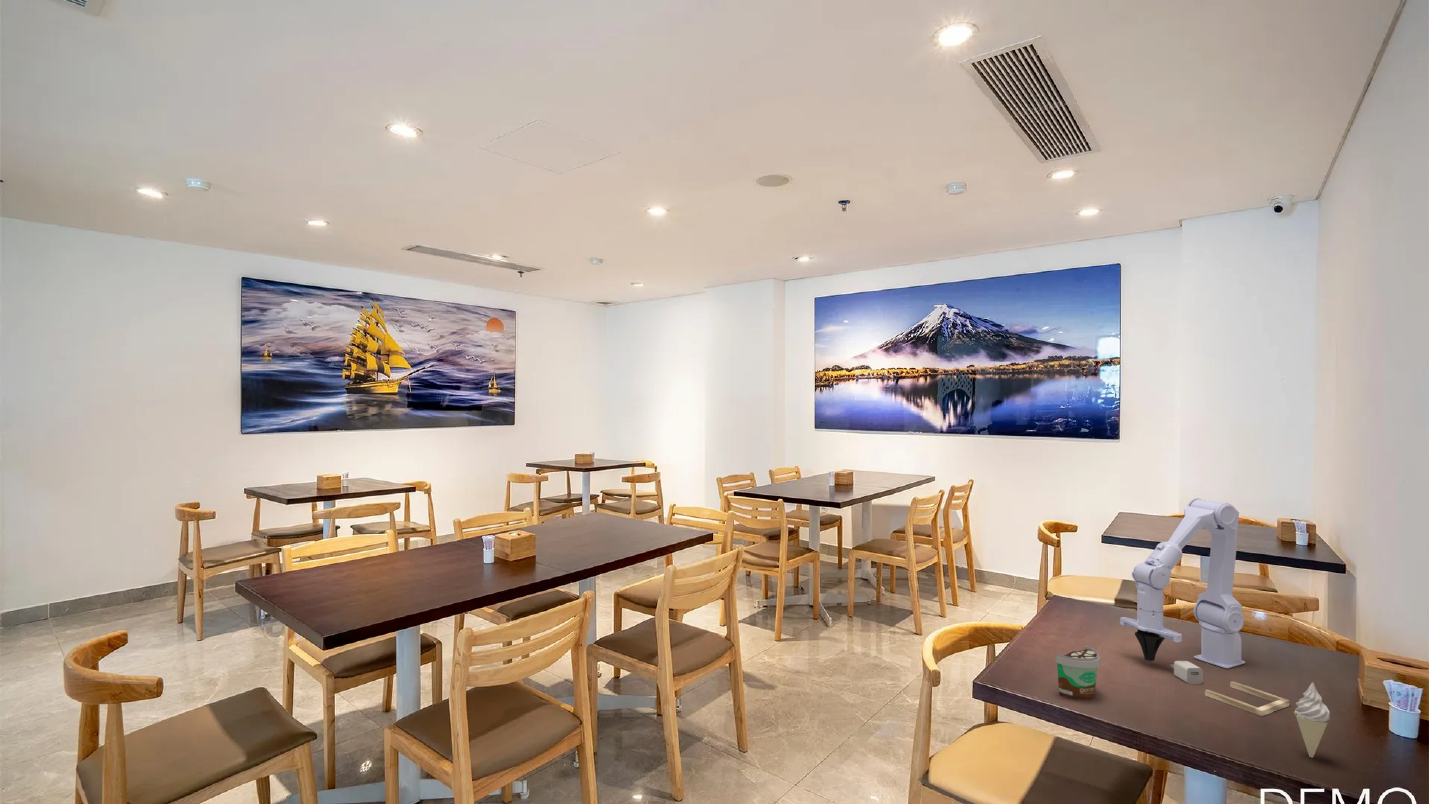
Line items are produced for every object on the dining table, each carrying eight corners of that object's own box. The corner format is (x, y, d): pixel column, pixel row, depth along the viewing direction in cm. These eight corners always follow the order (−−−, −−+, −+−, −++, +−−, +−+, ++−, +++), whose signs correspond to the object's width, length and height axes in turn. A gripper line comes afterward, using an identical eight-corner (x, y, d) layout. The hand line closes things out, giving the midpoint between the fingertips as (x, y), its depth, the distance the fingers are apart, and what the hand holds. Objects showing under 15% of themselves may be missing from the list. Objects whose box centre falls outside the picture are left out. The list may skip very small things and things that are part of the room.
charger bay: (1232, 686, 155) (1232, 681, 155) (1289, 705, 145) (1289, 700, 145) (1204, 695, 150) (1204, 690, 150) (1261, 716, 140) (1261, 711, 140)
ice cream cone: (1332, 767, 120) (1333, 689, 120) (1297, 759, 123) (1297, 682, 123) (1324, 755, 124) (1325, 679, 124) (1290, 747, 127) (1291, 673, 127)
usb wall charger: (1186, 683, 156) (1186, 667, 156) (1166, 672, 163) (1166, 656, 163) (1202, 683, 156) (1202, 668, 156) (1181, 672, 163) (1181, 656, 163)
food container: (1080, 706, 143) (1080, 663, 143) (1055, 695, 149) (1055, 653, 149) (1112, 695, 149) (1112, 654, 149) (1086, 685, 154) (1086, 645, 155)
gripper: (1113, 603, 172) (1112, 652, 172) (1170, 619, 159) (1170, 673, 159) (1129, 600, 175) (1128, 648, 175) (1186, 616, 162) (1186, 668, 162)
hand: (1149, 660), depth 167 cm, fingers closed
